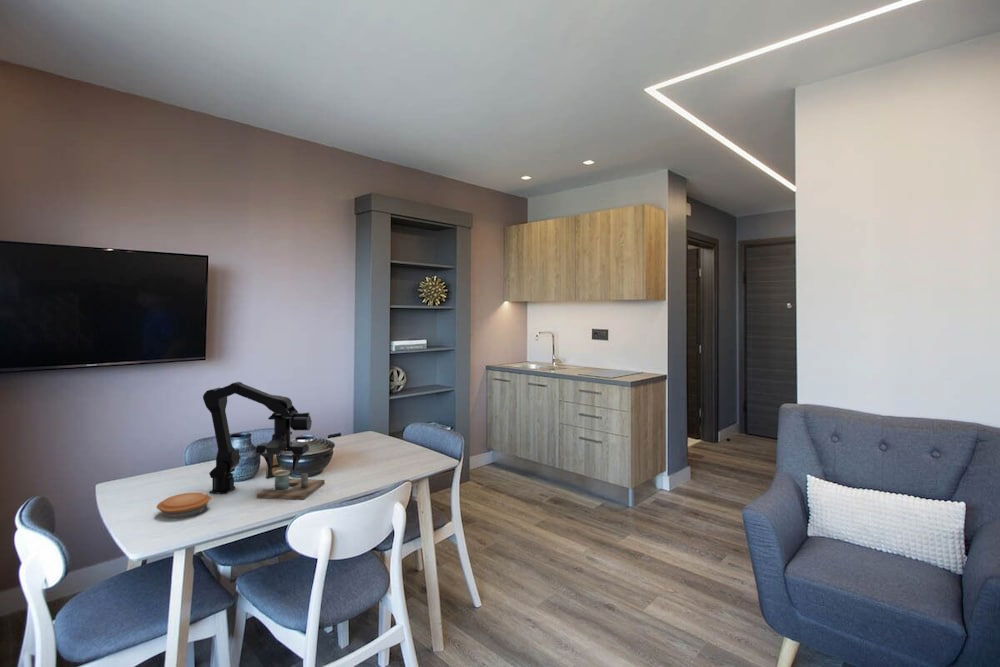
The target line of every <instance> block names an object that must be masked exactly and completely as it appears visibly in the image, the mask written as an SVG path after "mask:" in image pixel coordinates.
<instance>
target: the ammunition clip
mask: <svg viewBox="0 0 1000 667" xmlns="http://www.w3.org/2000/svg"><path fill="white" fill-rule="evenodd" d="M290 446H292V445H290ZM265 470H266V472H265V478H266V479H271V478H275V476H274V472H275V471H277V470H282V469H281V467H280V466H279V464H278V462H277V457H276V455H275V454H273V468H272V470H269V467H268V465H267V464H266V469H265Z"/></svg>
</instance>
